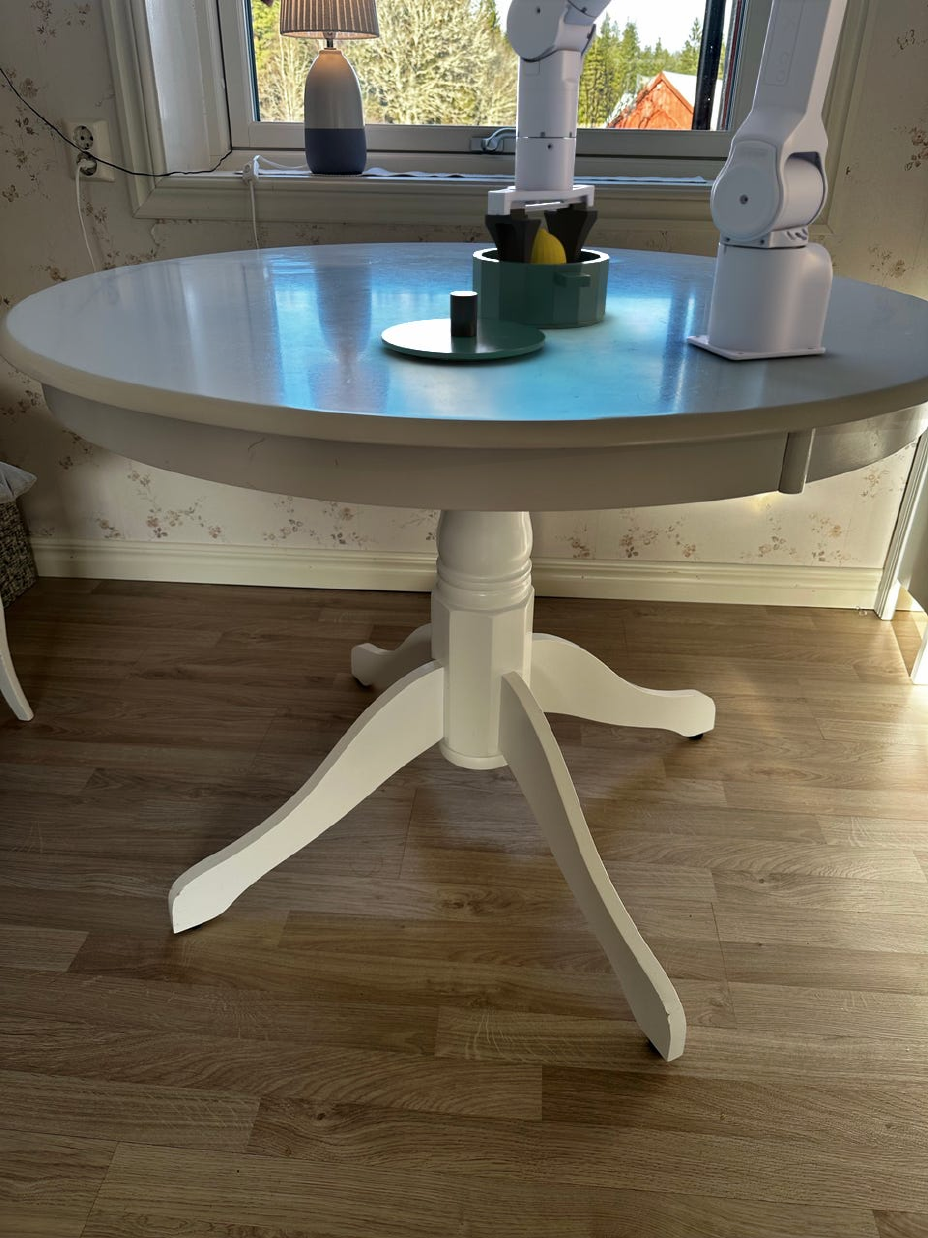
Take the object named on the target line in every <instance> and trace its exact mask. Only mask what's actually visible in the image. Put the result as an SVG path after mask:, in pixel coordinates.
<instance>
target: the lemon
mask: <svg viewBox="0 0 928 1238" xmlns="http://www.w3.org/2000/svg"><path fill="white" fill-rule="evenodd" d="M530 263H537V264H561V263H566V257H565V252H564V249H563V246H562V244H561V243H560V242H559V241H558V239H557V238H555V237H554V236H553V235H551V234H549V232H548V231H547V230H546V229H545V228H542V227H539V229H538V232H537V235H536V238H535V241H534V245H533V250H532V255H531V262H530Z"/></svg>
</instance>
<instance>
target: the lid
mask: <svg viewBox="0 0 928 1238" xmlns="http://www.w3.org/2000/svg"><path fill="white" fill-rule="evenodd" d="M477 299H478V294H477V293H475V292H472V291H469V290H466V291H465V290H461V291H460V290H459V291H452V292H450V294H449V318H441V319H440V318H439V319H426V320H418V321H417V320H416V321H412V322H405V323H401V324H398V325H393V326H391V327H389V328H387V329H385V330H384V331H383V332H382V333H381V343H382V344H383V346H385V347H387V348H388V349H390V350H393V351H396V352H399V353H402V354H406V355H411V356H417V357H421V358H425V359H429V360H430V359H432V360H439V361H450V362H478V361H481V362H482V361H491V360H499V359H505V358H509V357H514V356H520V355H525V354H528V353H532V352H534V351H537V350H539V349H541V348H543V347H544V346H545V344H546V342H547V341H546V339H547V337H546V334H545V333H544V332H543V331H541V329H536V328H533V327H530V326H526V325H523V324H518V323H512V322H505V321H497V320H484V319H477Z"/></svg>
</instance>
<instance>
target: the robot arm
mask: <svg viewBox="0 0 928 1238" xmlns="http://www.w3.org/2000/svg"><path fill="white" fill-rule="evenodd" d="M612 2H613V0H511V2H510V5H509V7H508V11H507V16H506V23H505V24H506V34H507V35H506V36H507V39H508V42H509V45H510V47H511V48H512V50H513V51H514V53H515V54H516V55H518V61H517V67H518V68H517V70H518V71H517V94H516V95H517V97H516V100H517V101H516V130H515V131H516V132H515V136H516V138H515V165H514V169H515V170H514V185H512V186H507V188H504V189H500V190H490V191H488V192H487V195H488V196H487V212H486V213H484V225H485V227H486V229H487V231H488V232H489V234H490V236H491V238H492V240H493V243H494V246H495V248H496V249H497V252H498V255H499V258H500V261H505V262H518V263H530V262H531V255H532V250H533V245H534V241H535V238H536V235H537V232H538V229H540V228H541V224H542V219H541V218H534V217H533V218H532V217H529V215H528V214H526V213H527V212H536V211H537V212H538V211H543V216H544V220H545V223H546V227H547V233H549V234H551V235H553V236H554V237H555V238H557V239H558V241H559V242H560V243H561V244H562V246H563V249H564V252H565V257H566V263H577V262H578V259H579V256H580V253H581V250H582V249H583V247H584V245H585V242H586V240H587V238H588V235H589V233H590V232H591V230H592V228H593V227H594V226H595V223H596V222H597V221H598V214H599V210H598V209H596V208H587V207H594V201H595V187H596V186H595V185H589V184H574V182H575V181H574V180H575V179H574V178H575V165H576V164H575V163H576V147H577V138H576V137H577V126H578V111H579V94H580V93H579V92H580V78H581V76H583V71H584V61H585V57H586V55H587V53H588V52H589V51H590V49H591V47H592V45H593V43H594V40H595V36H596V32H597V24H596V23H595V22H596V21H597V20H598V19H599V18H600V16H601V15H602V14H603V13H604V12H605V10H606V9H607V8H608V6H609V5H610V4H611V3H612ZM847 4H848V0H772V5H771V9H770V15H769V20H768V24H767V30H766V34H765V35H766V36H765V41H764V45H763V50H762V56H761V60H760V66H759V70H758V76H757V82H756V86H755V90H754V91H755V92H754V97H753V101H752V107H751V110H750V112H749V114H748V115H747V116H746V118H745V120H744V121H743V122H742V123H741V126H740V127H739V128H738V130H737V131H736V133H735V134H734V135H733V138H732V140H731V145H730V150H729V153H728V157H727V160H726V162H725V165H724V167H723V168H722V169H721V171H720V172H719V173H718V176H717V177H716V179H715V181H714V182H713V185H712V188H711V192H710V198H709V199H710V200H709V207H710V214H711V218H712V220H713V223H714V225H715V226H716V228H717V230H718V231H719V232H720V233H719V241H718V247H717V255H716V262H715V263H716V264H715V271H714V279H713V285H712V294H711V302H710V310H709V315H708V316H709V318H708V323H707V324H708V325H707V332H706V334H702V335H701V334H700V335H689V336H687V337H686V342H687V343H689V344H692V345H694V346H697V347H699V348H701V349H704V350H707V351H709V352H712V353H715V354H717V355H719V356H721V357H724V358H727V359H729V360H732V361H740V360H741V361H742V360H755V359H768V358H769V359H770V358H782V357H795V356H807V355H820V354H821V355H822V354H825V353H826V347H824V346H821V344H822V343H821V342H822V338H823V333H824V327H825V322H826V317H827V312H828V308H829V307H828V306H829V301H830V296H831V291H832V290H831V289H832V286H833V279H834V278H833V277H834V275H833V274H834V271H833V270H834V269H833V262H832V258H831V255H830V253H829V251H828V250H827V249H826V248H825V247H824V246H823V245H822V244H820V243H818V242H809V235H810V234H809V230H808V229H809V226H810V225H812V224H813V223H814V222H815V221H816V220H817V219H818V218H819V216H820V215H821V213H822V211H823V209H824V207H825V205H826V202H827V199H828V193H829V192H828V191H829V183H828V177H827V174H826V173H827V172H826V165H825V164H826V155H827V151H828V146H829V140H828V139H829V138H828V135H827V131H826V129H825V126H824V122H823V118H822V112H823V108H824V102H825V99H826V95H827V91H828V86H829V82H830V77H831V73H832V69H833V64H834V60H835V56H836V50H837V46H838V44H839V43H838V42H839V38H840V35H841V29H842V25H843V22H844V21H843V20H844V17H845V12H846V8H847ZM539 201H553V202H547V203H539Z"/></svg>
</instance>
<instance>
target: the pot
mask: <svg viewBox="0 0 928 1238" xmlns="http://www.w3.org/2000/svg"><path fill="white" fill-rule="evenodd" d="M609 268H610V256H609V255H608V254H607V253H603V252H600V251H596V250H589V249H583V248H582V250H581V253H580V256H579V259H578V262H577V263H561V264H537V263H518V262H505V261H500V258H499V255H498V252H497V249H496V247H494V248H487V249H482V250H478V251H475V252H474V253H473V254H472V289H471V290H472V291H471V292H475V293H477V294H478V299H477V319H484V320H497V321H505V322H512V323H518V324H523V325H526V326H530V327H533V328H536V329H538V330H542V329H544V330H549V329H550V330H551V329H552V330H553V329H554V330H555V329H557V330H559V329H570V328H571V329H572V328H581V327H587V326H592V325H596V324H598V323H600V322H601V321H603V320H604V319H605V315H606V308H607V307H606V305H607V294H608V283H609V282H608V281H609Z"/></svg>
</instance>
